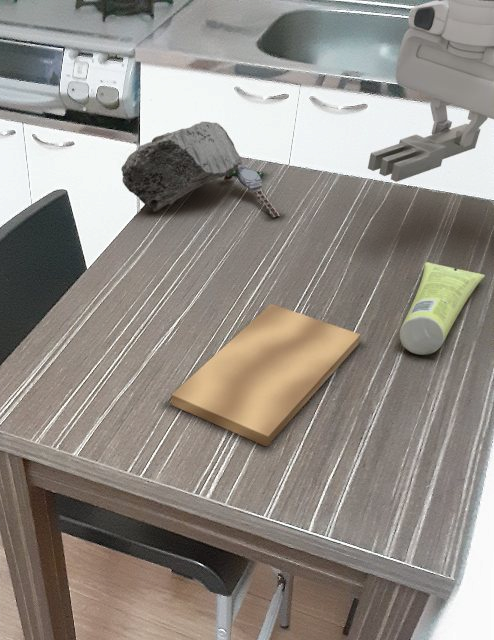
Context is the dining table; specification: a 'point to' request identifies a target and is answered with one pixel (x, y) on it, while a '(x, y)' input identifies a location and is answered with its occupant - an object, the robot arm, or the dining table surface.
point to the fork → (418, 154)
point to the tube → (436, 307)
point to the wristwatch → (253, 185)
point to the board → (266, 373)
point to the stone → (179, 163)
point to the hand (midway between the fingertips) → (450, 140)
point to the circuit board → (257, 173)
